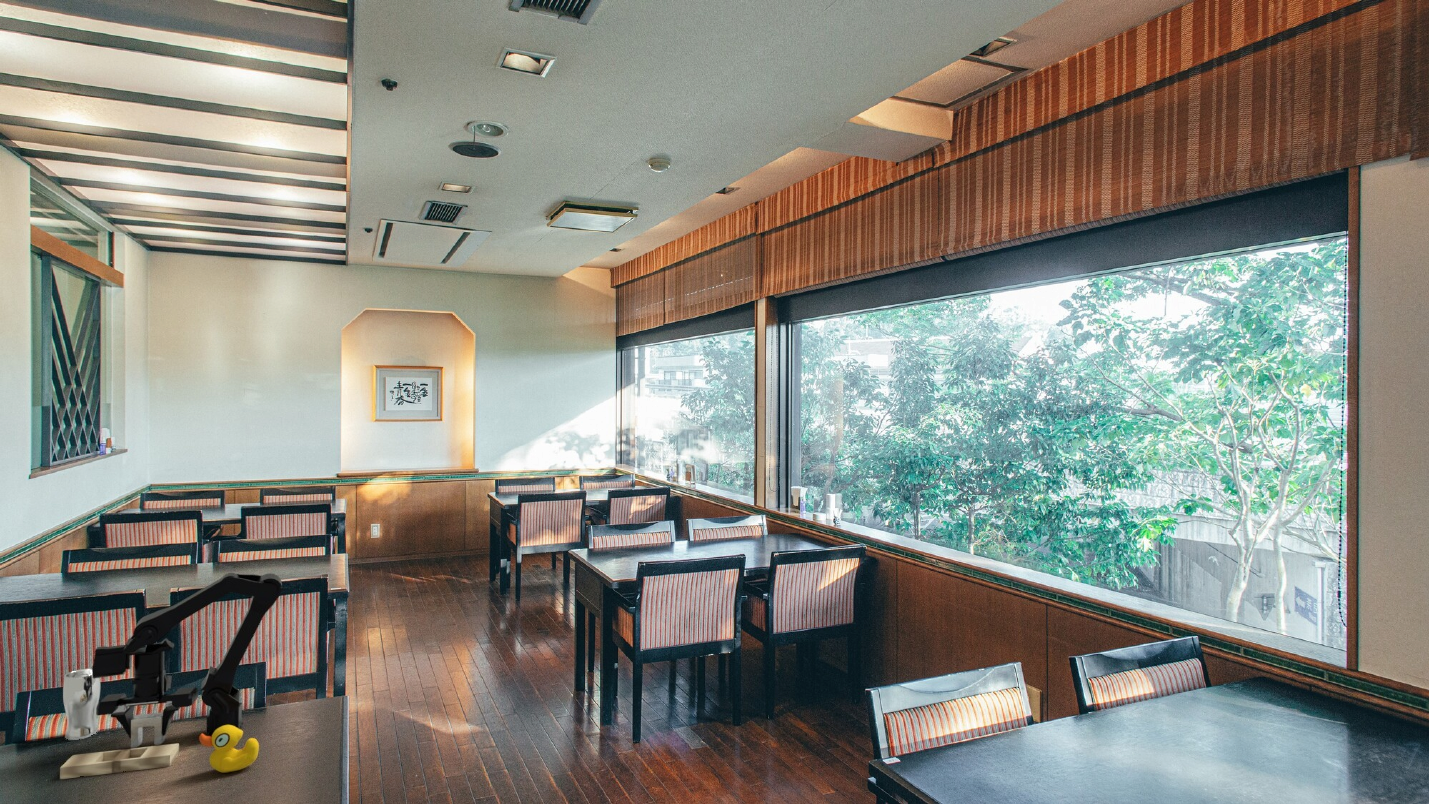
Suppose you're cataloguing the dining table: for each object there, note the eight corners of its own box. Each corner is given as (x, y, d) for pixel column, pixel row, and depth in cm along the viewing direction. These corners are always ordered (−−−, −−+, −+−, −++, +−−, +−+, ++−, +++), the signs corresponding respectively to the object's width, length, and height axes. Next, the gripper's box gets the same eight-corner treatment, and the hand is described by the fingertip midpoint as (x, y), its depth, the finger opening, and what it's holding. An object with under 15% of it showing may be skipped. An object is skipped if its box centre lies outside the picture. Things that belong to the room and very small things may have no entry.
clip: (165, 739, 184) (165, 712, 184) (161, 744, 181) (161, 716, 181) (135, 742, 182) (135, 715, 182) (130, 747, 179) (131, 719, 179)
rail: (178, 754, 178) (178, 743, 178) (170, 766, 172) (170, 755, 172) (72, 766, 171) (72, 755, 171) (60, 779, 165) (60, 767, 165)
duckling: (195, 780, 166) (196, 734, 166) (202, 769, 171) (202, 724, 171) (256, 772, 170) (256, 727, 170) (260, 761, 175) (261, 717, 175)
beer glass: (107, 729, 189) (108, 668, 189) (81, 742, 183) (82, 679, 182) (81, 727, 190) (82, 667, 190) (54, 740, 183) (55, 677, 183)
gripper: (205, 655, 192) (204, 718, 192) (115, 663, 186) (114, 727, 186) (191, 671, 182) (190, 737, 182) (95, 679, 175) (94, 747, 176)
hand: (148, 736), depth 182 cm, fingers closed on clip, 6 cm apart
